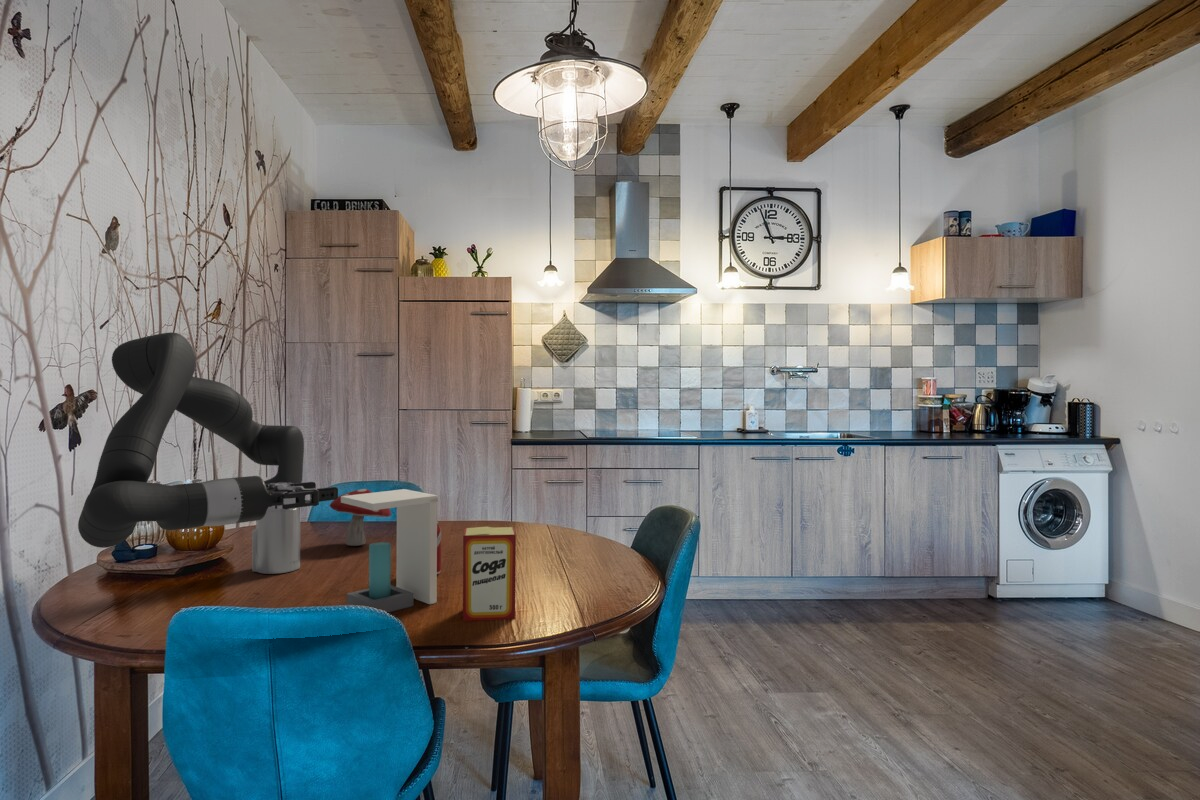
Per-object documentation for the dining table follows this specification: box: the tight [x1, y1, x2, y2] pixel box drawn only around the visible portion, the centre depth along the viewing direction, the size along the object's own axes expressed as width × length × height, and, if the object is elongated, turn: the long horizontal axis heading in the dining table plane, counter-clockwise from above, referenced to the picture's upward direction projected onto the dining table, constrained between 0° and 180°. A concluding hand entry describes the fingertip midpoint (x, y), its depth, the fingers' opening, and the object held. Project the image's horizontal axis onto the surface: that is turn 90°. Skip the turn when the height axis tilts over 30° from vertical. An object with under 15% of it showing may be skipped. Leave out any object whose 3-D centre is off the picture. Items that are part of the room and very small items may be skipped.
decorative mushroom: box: [329, 488, 392, 547], centre depth 185 cm, size 16×16×15 cm
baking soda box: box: [462, 526, 517, 622], centre depth 130 cm, size 10×6×16 cm
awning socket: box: [340, 488, 439, 613], centre depth 136 cm, size 14×12×21 cm
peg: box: [368, 541, 392, 600], centre depth 134 cm, size 4×4×12 cm
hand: (325, 490), depth 126 cm, fingers open, 8 cm apart
